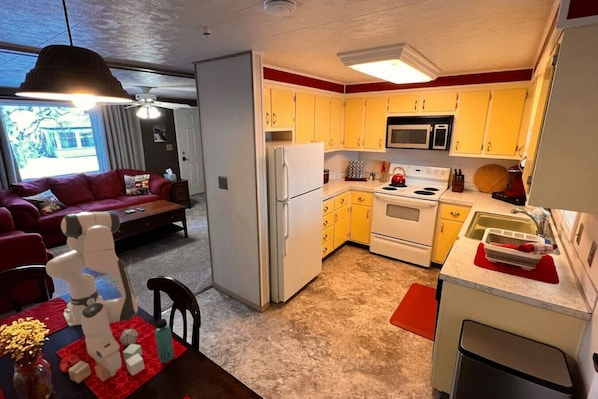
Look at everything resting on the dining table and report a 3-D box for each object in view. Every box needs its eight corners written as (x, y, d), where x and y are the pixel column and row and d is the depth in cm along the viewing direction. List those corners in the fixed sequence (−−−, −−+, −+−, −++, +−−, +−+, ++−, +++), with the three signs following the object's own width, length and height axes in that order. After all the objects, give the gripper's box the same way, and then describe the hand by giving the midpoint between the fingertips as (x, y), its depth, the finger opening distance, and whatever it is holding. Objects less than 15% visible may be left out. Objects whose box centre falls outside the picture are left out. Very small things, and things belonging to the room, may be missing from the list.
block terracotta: (96, 376, 122) (94, 366, 120) (109, 367, 126) (107, 358, 125) (103, 381, 119) (100, 371, 118) (115, 372, 123) (113, 363, 122)
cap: (84, 359, 126) (79, 347, 129) (68, 365, 121) (63, 352, 123) (76, 371, 128) (70, 359, 130) (60, 377, 123) (55, 365, 125)
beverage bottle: (159, 368, 126) (153, 328, 120) (158, 357, 131) (152, 319, 126) (175, 362, 129) (170, 323, 123) (174, 352, 134) (168, 314, 129)
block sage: (124, 361, 129) (122, 352, 128) (132, 352, 134) (131, 343, 133) (134, 363, 128) (132, 353, 127) (142, 354, 133) (140, 345, 132)
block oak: (70, 379, 120) (68, 369, 119) (83, 370, 125) (80, 360, 124) (78, 383, 119) (76, 373, 117) (91, 373, 123) (88, 364, 122)
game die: (132, 352, 139) (127, 348, 131) (117, 345, 139) (110, 339, 132) (145, 334, 144) (141, 328, 137) (130, 326, 145) (125, 321, 137)
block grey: (127, 369, 125) (125, 360, 124) (139, 362, 129) (137, 353, 127) (132, 376, 122) (130, 366, 120) (144, 368, 126) (142, 358, 124)
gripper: (79, 337, 121) (85, 365, 125) (105, 357, 111) (111, 386, 115) (95, 328, 126) (101, 355, 130) (121, 346, 116) (127, 374, 120)
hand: (106, 370), depth 122 cm, fingers open, 8 cm apart
